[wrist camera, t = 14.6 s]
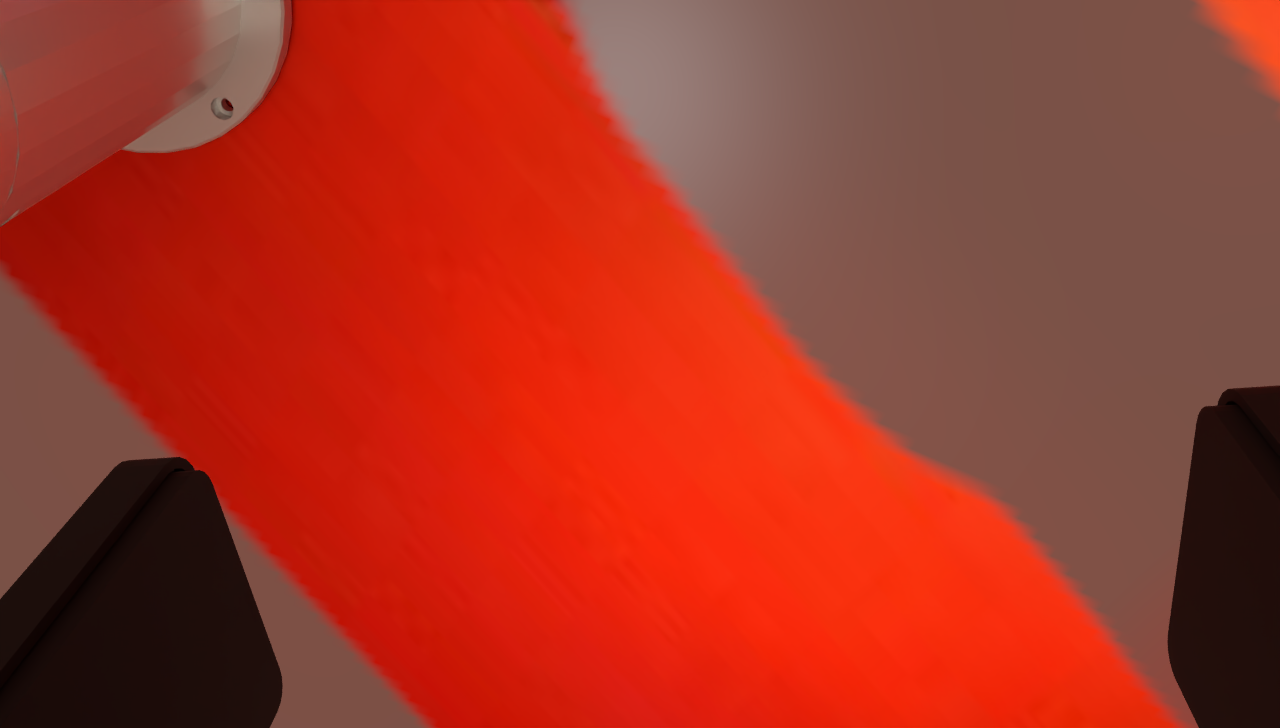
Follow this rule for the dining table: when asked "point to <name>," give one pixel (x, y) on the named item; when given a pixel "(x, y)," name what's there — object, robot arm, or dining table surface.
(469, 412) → the dining table surface
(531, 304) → the dining table surface
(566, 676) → the dining table surface
